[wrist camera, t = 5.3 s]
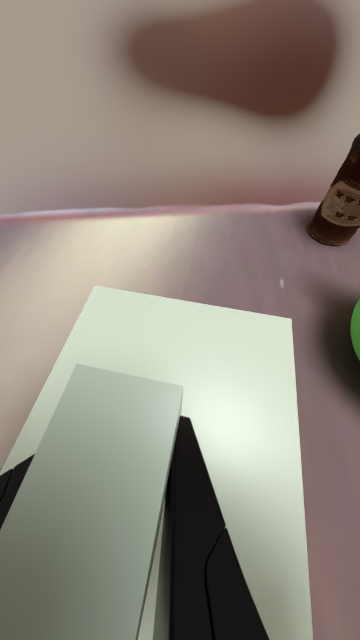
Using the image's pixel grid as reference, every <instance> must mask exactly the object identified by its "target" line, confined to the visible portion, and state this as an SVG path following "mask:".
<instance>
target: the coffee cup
mask: <svg viewBox="0 0 360 640" xmlns="http://www.w3.org/2000/svg"><path fill="white" fill-rule="evenodd" d="M359 227H360V134H359V135H358V136H357V137H356V138H355V139H354V141H353V143H352V147H351V149H350V152H349V154H348V156H347V158H346V160H345V161H344V163H343V164H342V166H341V168H340V170H339V171H338V174H337V175H336V177H335V179H334V181H333V182H332V184H331V186H330V188H329V190H328V193H327V195H326V196H325V198H324V199H323V201H322V202H321V204H320V205H319V207H318V209H317V211H316V214H315V216H314V218H313V220H312V221H311V223H310V224H309V226H308V230H309V232H310V234H311V235H312V236H313V237H314V238H315V239H317V240H319V241H320V242H323V243H326V244H330V245H343V244H345V243H348V242H349V240H350V238H351V237H352V236H353V235H354V234H355V233H356V231H357V229H358V228H359Z"/></svg>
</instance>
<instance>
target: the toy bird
mask: <svg viewBox="0 0 360 640" xmlns="http://www.w3.org/2000/svg"><path fill="white" fill-rule="evenodd" d="M351 339H352V344H353V347H354V350H355V353H356V355H357V357H358V359H359V361H360V298H359V300H358V302H357V303H356V306H355V308H354V311H353V314H352V318H351Z"/></svg>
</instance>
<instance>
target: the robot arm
mask: <svg viewBox="0 0 360 640" xmlns="http://www.w3.org/2000/svg"><path fill="white" fill-rule="evenodd" d="M34 455H35V454H33V455H32V456H30V457H29V458H27V459H25V460H24V461H22V462H21V463H19V464H18V465H16V466H15V467H14V469H12V468H11V469H9V470H8V471H6V472H5V473H3V474H2V475H0V530H1V527H2V525H3V523H4V521H5V519H6V517H7V514H8V512H9V510H10V508H11V506H12V503H13V501H14V499H15V497H16V495H17V492H18V490H19V488H20V486H21V484H22V482H23V479H24V477H25V475H26V473H27V471H28V468H29V466H30V464H31V462H32V460H33V457H34ZM225 527H226V523H225V520H224V517H223V514H222V511H221V508H220V505H219V503H218V500H217V497H216V494H215V491H214V488H213V485H212V482H211V479H210V476H209V473H208V470H207V467H206V464H205V461H204V458H203V455H202V452H201V449H200V446H199V443H198V440H197V437H196V434H195V431H194V428H193V425H192V422H191V419H190V418H189V417H185V416H180V418H179V424H178V429H177V434H176V439H175V444H174V449H173V455H172V460H171V466H170V472H169V477H168V483H167V489H166V495H165V505H164V516H163V527H162V539H161V550H160V562H159V573H158V584H157V596H156V607H155V618H154V630H153V640H270V639H269V637H268V634H267V632H266V629H265V627H264V625H263V622H262V620H261V617H260V615H259V613H258V610H257V608H256V605H255V603H254V600H253V598H252V595H251V593H250V590H249V588H248V585H247V583H246V580H245V577H244V575H243V572H242V569H241V566H240V564H239V561H238V558H237V555H236V552H235V550H234V547H233V544H232V541H231V538H230V535H229V532H228V529H227V528H225Z"/></svg>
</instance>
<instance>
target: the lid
mask: <svg viewBox="0 0 360 640" xmlns="http://www.w3.org/2000/svg"><path fill="white" fill-rule="evenodd" d="M180 416H185V417H189V418H190V419H191V422H192V425H193V428H194V431H195V434H196V437H197V440H198V443H199V446H200V449H201V452H202V455H203V458H204V461H205V464H206V467H207V470H208V473H209V476H210V479H211V482H212V485H213V488H214V491H215V494H216V497H217V500H218V503H219V505H220V508H221V511H222V514H223V517H224V520H225V523H226V527H225V528H227V529H228V532H229V535H230V538H231V541H232V544H233V547H234V550H235V552H236V555H237V558H238V561H239V564H240V566H241V569H242V572H243V575H244V577H245V580H246V583H247V585H248V588H249V590H250V593H251V595H252V598H253V600H254V603H255V605H256V608H257V610H258V613H259V615H260V617H261V620H262V622H263V625H264V627H265V629H266V632H267V634H268V637H269V639H270V640H313V631H312V617H311V602H310V587H309V572H308V558H307V543H306V528H305V513H304V498H303V484H302V469H301V454H300V439H299V425H298V410H297V395H296V380H295V366H294V351H293V336H292V321H291V319H289V318H283V317H277V316H271V315H265V314H259V313H253V312H248V311H242V310H236V309H230V308H224V307H218V306H212V305H206V304H200V303H195V302H189V301H183V300H177V299H171V298H165V297H159V296H153V295H148V294H142V293H136V292H130V291H124V290H118V289H112V288H106V287H101V286H94V288H93V290H92V292H91V294H90V296H89V298H88V300H87V302H86V304H85V306H84V308H83V310H82V312H81V314H80V316H79V318H78V320H77V322H76V324H75V326H74V328H73V330H72V331H71V333H70V335H69V337H68V339H67V341H66V343H65V345H64V347H63V349H62V351H61V353H60V355H59V357H58V359H57V361H56V363H55V365H54V367H53V369H52V371H51V373H50V375H49V377H48V379H47V381H46V383H45V385H44V387H43V389H42V391H41V393H40V394H39V396H38V398H37V400H36V402H35V404H34V406H33V408H32V410H31V412H30V414H29V416H28V418H27V420H26V422H25V424H24V426H23V428H22V430H21V432H20V434H19V436H18V438H17V440H16V442H15V444H14V446H13V448H12V450H11V452H10V454H9V456H8V457H7V459H6V461H5V463H4V465H3V467H2V469H1V471H0V475H2V474H3V473H5V472H6V471H8V470H9V469H11V468H12V469H14V467H15V466H16V465H18V464H19V463H21V462H22V461H24V460H25V459H27V458H29V457H30V456H32V455H33V454H35V455H34V457H33V460H32V462H31V464H30V466H29V468H28V471H27V473H26V475H25V477H24V479H23V482H22V484H21V486H20V488H19V490H18V492H17V495H16V497H15V499H14V501H13V503H12V506H11V508H10V510H9V512H8V514H7V517H6V519H5V521H4V523H3V525H2V527H1V530H0V640H153V630H154V618H155V607H156V596H157V584H158V573H159V562H160V550H161V539H162V527H163V516H164V505H165V495H166V489H167V483H168V477H169V472H170V466H171V460H172V455H173V449H174V444H175V439H176V434H177V429H178V424H179V418H180Z"/></svg>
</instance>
